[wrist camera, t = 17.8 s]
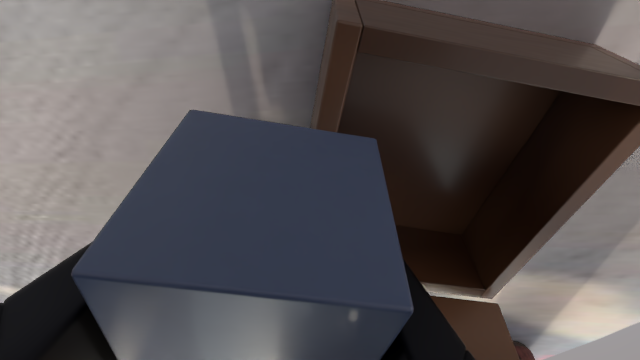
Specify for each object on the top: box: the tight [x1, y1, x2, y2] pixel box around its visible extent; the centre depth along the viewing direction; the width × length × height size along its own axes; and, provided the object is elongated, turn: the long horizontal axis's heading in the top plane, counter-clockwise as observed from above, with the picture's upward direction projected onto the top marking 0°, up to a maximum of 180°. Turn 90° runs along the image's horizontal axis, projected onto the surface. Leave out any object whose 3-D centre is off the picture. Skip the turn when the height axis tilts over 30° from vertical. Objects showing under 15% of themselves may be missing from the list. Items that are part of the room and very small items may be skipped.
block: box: [71, 110, 414, 360], centre depth 7 cm, size 4×4×4 cm
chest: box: [310, 0, 640, 299], centre depth 15 cm, size 13×12×5 cm
